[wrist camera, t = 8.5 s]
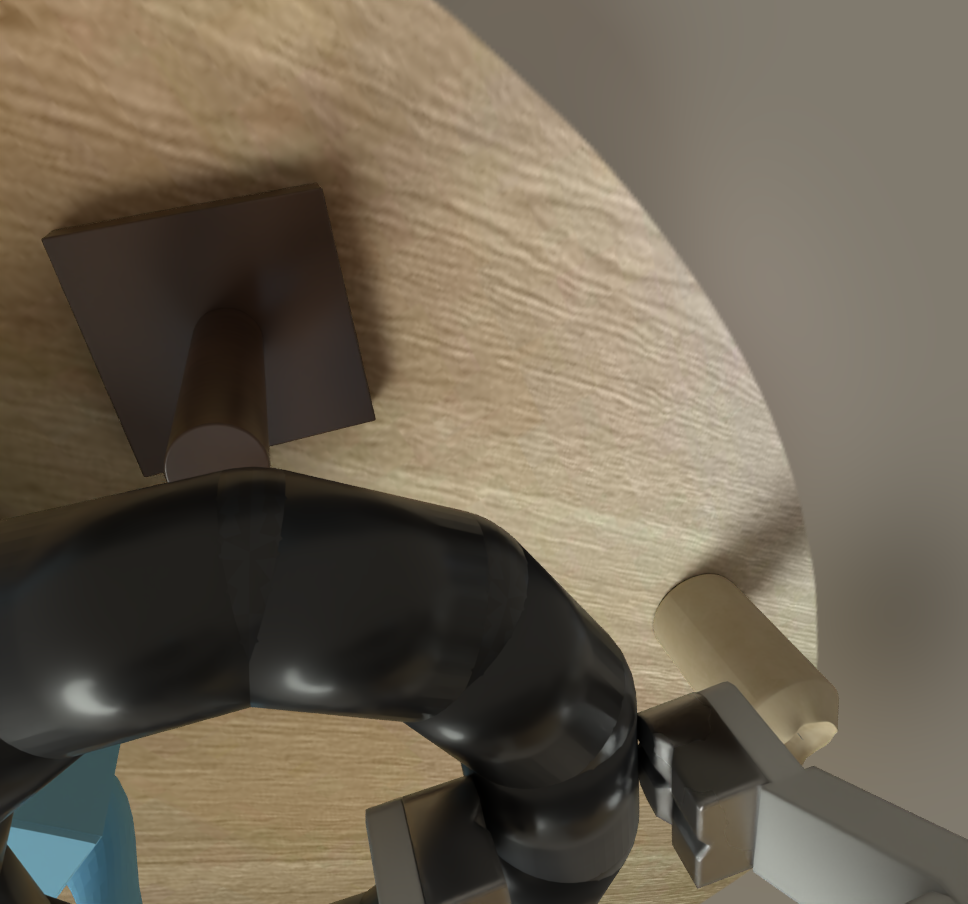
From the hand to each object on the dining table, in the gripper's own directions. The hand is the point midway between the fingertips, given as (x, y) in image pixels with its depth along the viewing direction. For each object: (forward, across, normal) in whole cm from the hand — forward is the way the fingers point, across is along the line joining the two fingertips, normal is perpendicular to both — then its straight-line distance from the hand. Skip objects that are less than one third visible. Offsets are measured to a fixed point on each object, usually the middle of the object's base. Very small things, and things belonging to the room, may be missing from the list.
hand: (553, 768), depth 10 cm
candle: (+21, -15, +21) cm, 34 cm away
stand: (+21, +5, -1) cm, 22 cm away
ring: (0, +4, 0) cm, 4 cm away
